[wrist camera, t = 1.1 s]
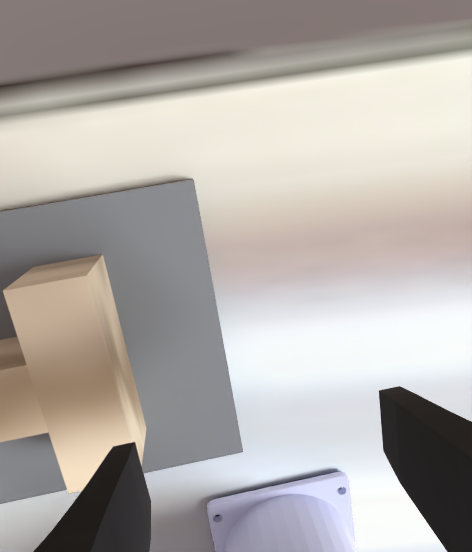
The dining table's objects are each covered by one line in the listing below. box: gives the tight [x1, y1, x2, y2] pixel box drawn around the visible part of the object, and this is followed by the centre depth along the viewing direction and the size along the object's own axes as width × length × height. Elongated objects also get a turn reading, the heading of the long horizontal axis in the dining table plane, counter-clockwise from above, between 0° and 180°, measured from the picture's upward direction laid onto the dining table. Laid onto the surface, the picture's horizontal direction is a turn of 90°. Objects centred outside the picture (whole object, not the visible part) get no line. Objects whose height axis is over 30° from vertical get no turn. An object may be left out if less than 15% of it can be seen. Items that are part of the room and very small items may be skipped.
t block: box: [0, 254, 146, 494], centre depth 19 cm, size 9×9×4 cm
